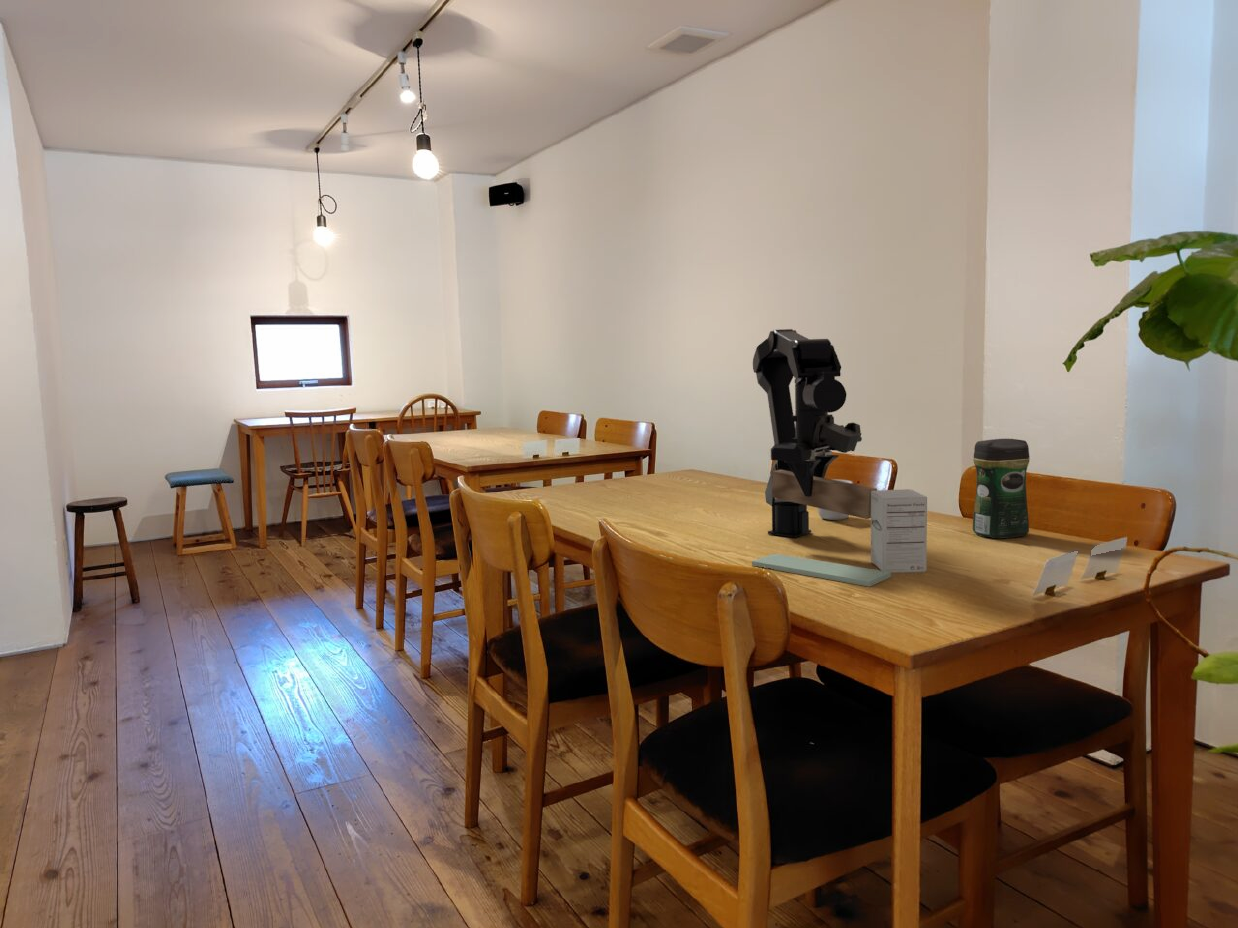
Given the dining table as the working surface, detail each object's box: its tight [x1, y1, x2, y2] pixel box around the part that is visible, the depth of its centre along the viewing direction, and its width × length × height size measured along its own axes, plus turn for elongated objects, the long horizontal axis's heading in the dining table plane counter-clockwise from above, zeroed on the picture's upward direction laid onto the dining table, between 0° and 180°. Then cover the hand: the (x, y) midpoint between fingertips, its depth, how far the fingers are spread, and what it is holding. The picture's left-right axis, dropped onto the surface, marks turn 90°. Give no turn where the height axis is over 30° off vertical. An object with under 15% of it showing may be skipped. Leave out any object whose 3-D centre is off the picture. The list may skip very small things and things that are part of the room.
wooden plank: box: [772, 470, 878, 520], centre depth 151 cm, size 20×2×5 cm, turn 44°
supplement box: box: [870, 489, 928, 574], centre depth 139 cm, size 7×7×13 cm
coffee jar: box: [972, 438, 1031, 539], centre depth 160 cm, size 10×8×19 cm
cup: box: [817, 478, 854, 521], centre depth 181 cm, size 11×8×8 cm
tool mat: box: [751, 553, 892, 588], centre depth 139 cm, size 22×7×1 cm, turn 46°
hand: (812, 495), depth 152 cm, fingers closed on wooden plank, 3 cm apart
